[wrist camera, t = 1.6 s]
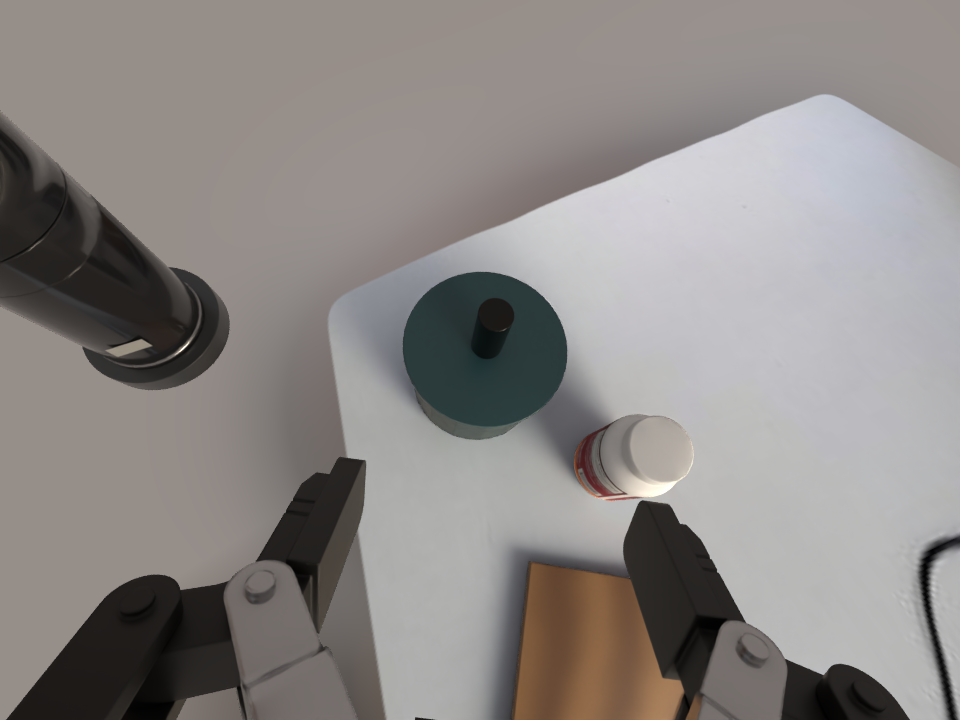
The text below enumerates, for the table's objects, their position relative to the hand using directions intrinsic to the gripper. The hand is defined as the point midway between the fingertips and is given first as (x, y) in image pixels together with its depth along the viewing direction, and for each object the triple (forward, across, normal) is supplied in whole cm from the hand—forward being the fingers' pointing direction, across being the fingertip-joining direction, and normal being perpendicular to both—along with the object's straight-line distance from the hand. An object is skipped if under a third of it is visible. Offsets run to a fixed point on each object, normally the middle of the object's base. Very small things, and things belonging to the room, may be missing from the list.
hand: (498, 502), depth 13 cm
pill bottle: (+24, -13, +15) cm, 31 cm away
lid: (+22, 0, +4) cm, 22 cm away
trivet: (+12, -14, +26) cm, 32 cm away
